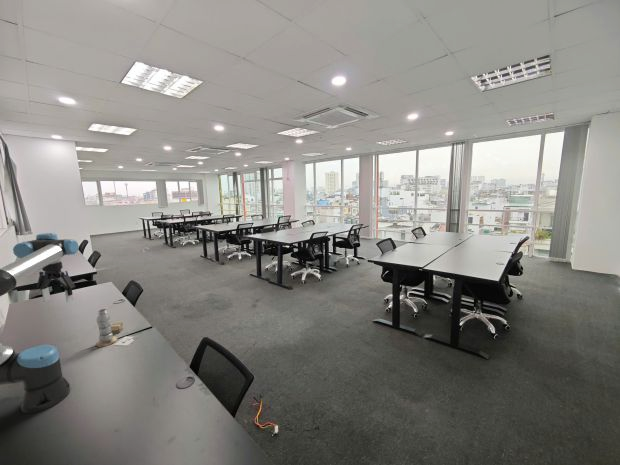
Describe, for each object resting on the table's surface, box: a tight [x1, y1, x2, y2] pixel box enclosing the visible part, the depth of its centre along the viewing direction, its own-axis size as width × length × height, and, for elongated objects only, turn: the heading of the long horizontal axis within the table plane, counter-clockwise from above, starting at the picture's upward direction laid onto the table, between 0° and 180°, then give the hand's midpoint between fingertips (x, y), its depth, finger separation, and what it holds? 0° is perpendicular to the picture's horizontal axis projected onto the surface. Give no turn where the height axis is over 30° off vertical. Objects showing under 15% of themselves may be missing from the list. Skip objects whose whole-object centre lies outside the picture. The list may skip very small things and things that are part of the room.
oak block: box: [110, 321, 124, 335], centre depth 166 cm, size 5×5×5 cm
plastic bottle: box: [96, 308, 114, 343], centre depth 152 cm, size 6×7×20 cm
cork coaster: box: [95, 336, 118, 348], centre depth 154 cm, size 10×10×1 cm
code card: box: [113, 336, 135, 347], centre depth 155 cm, size 9×9×1 cm
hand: (58, 300), depth 136 cm, fingers open, 13 cm apart
